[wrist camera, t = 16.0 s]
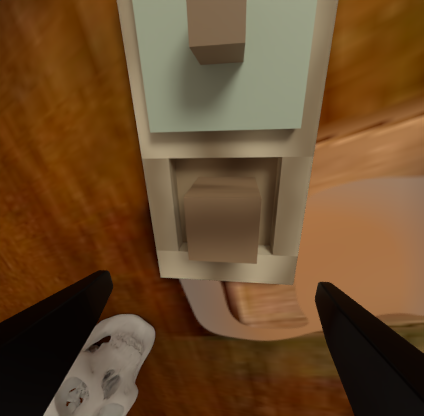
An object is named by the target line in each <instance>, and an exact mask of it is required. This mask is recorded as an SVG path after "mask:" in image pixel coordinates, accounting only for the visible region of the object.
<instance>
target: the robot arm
mask: <svg viewBox="0 0 424 416" xmlns="http://www.w3.org/2000/svg"><path fill="white" fill-rule="evenodd" d="M112 289H113V283H112V279H111V276H110V273H109V271H106V270H99V271H97V272H95V273H93V274H91V275H89V276H87V277H85V278H83V279H82V280H80V281H78V282H76V283H74V284H72V285H70V286H68V287H67V288H65V289H63V290H61V291H59V292H57V293H55V294H53V295H51V296H50V297H48V298H46V299H44V300H42V301H40V302H38V303H36V304H35V305H33V306H31V307H29V308H27V309H25V310H23V311H21V312H19V313H18V314H16V315H14V316H12V317H10V318H8V319H6V320H4V321H2V322H1V323H0V416H43V415H44V413H45V412H46V410H47V408H48V407H49V405H50V403H51V401H52V400H53V398H54V396H55V394H56V393H57V391H58V389H59V388H60V386H61V384H62V382H63V381H64V379H65V377H66V376H67V374H68V372H69V370H70V369H71V367H72V365H73V363H74V362H75V360H76V358H77V357H78V355H79V353H80V351H81V350H82V348H83V346H84V345H85V343H86V341H87V339H88V338H89V336H90V334H91V332H92V331H93V329H94V327H95V325H96V324H97V322H98V320H99V318H100V315H101V313H102V311H103V309H104V307H105V305H106V303H107V300H108V298H109V296H110V294H111V292H112ZM315 302H316V306H317V310H318V314H319V317H320V321H321V325H322V328H323V332H324V336H325V339H326V342H327V345H328V348H329V351H330V353H331V356H332V358H333V361H334V364H335V366H336V369H337V371H338V374H339V376H340V379H341V382H342V384H343V387H344V389H345V392H346V395H347V397H348V400H349V402H350V405H351V407H352V410H353V413H354V415H355V416H424V353H422V352H421V351H420V350H418V349H417V348H416V347H414V346H413V345H412V344H411V343H409V342H408V341H407V340H405V339H404V338H403V337H401V336H400V335H399V334H397V333H396V332H395V331H394V330H392V329H391V328H390V327H388V326H387V325H386V324H384V323H383V322H382V321H380V320H379V319H378V318H376V317H375V316H374V315H372V314H371V313H370V312H369V311H367V310H366V309H364V308H363V307H362V306H361V305H359V304H358V303H357V302H355V301H354V300H353V299H351V298H350V297H349V296H348V295H346V294H345V293H344V292H342V291H341V290H340V289H338V288H337V287H336V286H334V285H333V284H332V283H329V282H319V283H318V286H317V291H316V295H315Z"/></svg>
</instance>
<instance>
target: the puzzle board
mask: <svg viewBox="0 0 424 416" xmlns="http://www.w3.org/2000/svg"><path fill="white" fill-rule="evenodd" d="M117 4H118V11H119V17H120V23H121V30H122V36H123V42H124V49H125V55H126V61H127V67H128V74H129V80H130V86H131V93H132V99H133V105H134V112H135V118H136V124H137V130H138V137H139V143H140V149H141V156H142V162H143V168H144V175H145V181H146V187H147V193H148V200H149V206H150V212H151V219H152V225H153V231H154V238H155V244H156V250H157V256H158V263H159V269H160V275H161V277H164V278H182V279H183V278H184V279H200V280H216V281H233V282H250V283H268V284H285V285H293V283H294V277H295V270H296V263H297V258H298V251H299V245H300V239H301V232H302V226H303V219H304V213H305V207H306V201H307V194H308V188H309V182H310V175H311V169H312V163H313V156H314V150H315V144H316V137H317V131H318V125H319V118H320V112H321V106H322V99H323V93H324V87H325V80H326V74H327V68H328V61H329V55H330V49H331V42H332V36H333V30H334V23H335V17H336V11H337V4H338V0H317V7H316V15H315V23H314V30H313V38H312V46H311V54H310V61H309V69H308V77H307V85H306V93H305V100H304V108H303V116H302V124H301V128H297V129H261V130H225V131H188V132H152V133H150V127H149V120H148V112H147V105H146V98H145V90H144V83H143V76H142V68H141V61H140V54H139V47H138V39H137V32H136V25H135V17H134V10H133V3H132V0H117ZM198 177H255V179H256V183H257V186H258V189H259V192H260V195H261V198H262V200H261V214H260V227H259V241H258V254H257V264H248V263H229V262H210V261H191V260H189V258H188V245H187V233H186V221H185V209H184V196H185V195H186V193H187V192H188V190H189V189H190V188H191V186H192V185H193V184H194V182H195V181H196V179H197V178H198Z"/></svg>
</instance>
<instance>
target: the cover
mask: <svg viewBox="0 0 424 416" xmlns="http://www.w3.org/2000/svg"><path fill="white" fill-rule="evenodd" d="M132 3H133V10H134V17H135V25H136V32H137V39H138V47H139V54H140V61H141V68H142V76H143V83H144V90H145V98H146V105H147V112H148V120H149V127H150V133H152V132H188V131H225V130H261V129H297V128H301V124H302V116H303V108H304V100H305V93H306V85H307V77H308V69H309V61H310V54H311V46H312V38H313V30H314V23H315V15H316V7H317V0H132Z"/></svg>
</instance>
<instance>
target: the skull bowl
mask: <svg viewBox="0 0 424 416" xmlns="http://www.w3.org/2000/svg"><path fill="white" fill-rule="evenodd" d="M106 336H111V339H110V341H109V343H102V344H101V346H100V347H99V346H97V345H95V346H93V344H94V343H96V342H98V341H100V340H101V339H102V338H104V337H106ZM154 340H155V330H154V328H153V327H152V326H151V325H150V324H148V323H147V322H146V321H145V320H143V319H142V318H141V317H139V316H137V315H134V314H120V315H115V316H113V317H111V318H107V319H104V320H102V321H101V322H100V323H99V324H97V325H96V326H95V327H94V329H93V331H92V332H91V334H90V336H89V338H88V339H87V341H86V343H85V345H84V346H83V348H82V350H81V351H80V353H79V355H78V357H77V358H76V360H75V362H74V363H73V365H72V367H71V369H70V370H69V372H68V374H67V376H66V377H65V379H64V381H63V382H62V384H61V386H60V388H59V389H58V391H57V393H56V394H55V396H54V398H53V400H52V401H51V403H50V405H49V407H48V408H47V410H46V412H45V413H44V415H43V416H126V414H127V413H128V411H129V410H130V408H131V407H132V405H133V404H134V402H135V400H136V398H137V395H138V389H137V386H136V384H135V380H136V377H137V375H138V372H139V370H140V368H141V365H142V364H143V362H144V360H145V359H146V357H147V355H148V354H149V352H150V350H151V348H152V346H153V343H154ZM74 388H76V389H75V390H73V391H72V392H70V393H69V391H70V390H72V389H74ZM79 397H81V398H83V402H82V403H80V399H79ZM67 401H69V402H71V403H69V405H68V407H67V406H66V402H67ZM79 404H80V405H79Z"/></svg>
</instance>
